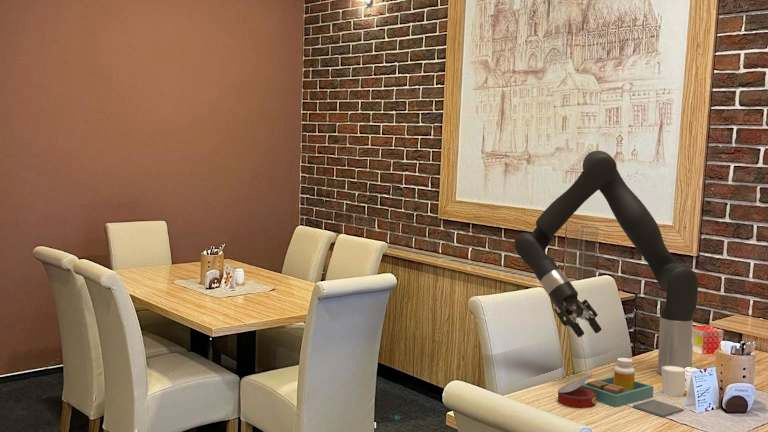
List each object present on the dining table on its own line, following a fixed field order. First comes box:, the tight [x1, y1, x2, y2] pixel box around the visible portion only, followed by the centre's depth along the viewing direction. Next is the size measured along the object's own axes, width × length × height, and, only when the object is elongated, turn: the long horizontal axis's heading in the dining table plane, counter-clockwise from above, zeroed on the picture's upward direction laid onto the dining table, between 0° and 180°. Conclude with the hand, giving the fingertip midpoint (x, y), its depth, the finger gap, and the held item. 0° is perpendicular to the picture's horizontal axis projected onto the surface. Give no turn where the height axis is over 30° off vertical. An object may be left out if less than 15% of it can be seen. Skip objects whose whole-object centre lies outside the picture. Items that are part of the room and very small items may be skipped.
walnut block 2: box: [603, 384, 624, 395], centre depth 200 cm, size 4×4×4 cm
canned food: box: [557, 373, 597, 409], centre depth 198 cm, size 11×10×10 cm
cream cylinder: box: [661, 366, 686, 397], centre depth 208 cm, size 7×7×7 cm
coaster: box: [631, 399, 685, 418], centre depth 194 cm, size 9×9×1 cm
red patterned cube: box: [692, 325, 724, 355], centre depth 256 cm, size 8×8×8 cm
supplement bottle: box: [613, 357, 636, 392], centre depth 206 cm, size 5×5×10 cm
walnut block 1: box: [586, 379, 609, 390], centre depth 203 cm, size 4×4×4 cm
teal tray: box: [580, 375, 654, 408], centre depth 204 cm, size 16×12×3 cm
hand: (590, 333), depth 214 cm, fingers open, 8 cm apart
